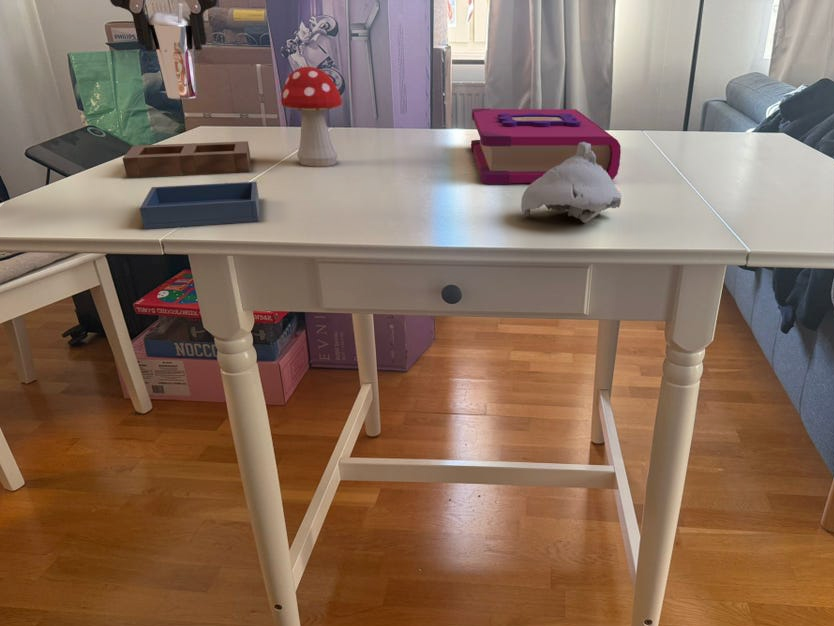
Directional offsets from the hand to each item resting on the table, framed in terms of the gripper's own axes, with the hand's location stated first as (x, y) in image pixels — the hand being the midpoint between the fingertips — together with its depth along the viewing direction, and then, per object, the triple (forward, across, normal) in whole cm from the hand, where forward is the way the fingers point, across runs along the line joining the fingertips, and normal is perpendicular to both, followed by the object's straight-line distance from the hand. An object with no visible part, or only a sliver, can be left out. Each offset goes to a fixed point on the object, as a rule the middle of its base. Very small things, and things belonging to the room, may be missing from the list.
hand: (174, 49), depth 78 cm
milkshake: (+6, 0, 0) cm, 6 cm away
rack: (+19, +4, -28) cm, 34 cm away
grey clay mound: (+19, -45, +14) cm, 51 cm away
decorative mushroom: (+20, -16, -27) cm, 37 cm away
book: (+19, -52, -18) cm, 58 cm away
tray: (+19, 0, 0) cm, 19 cm away
